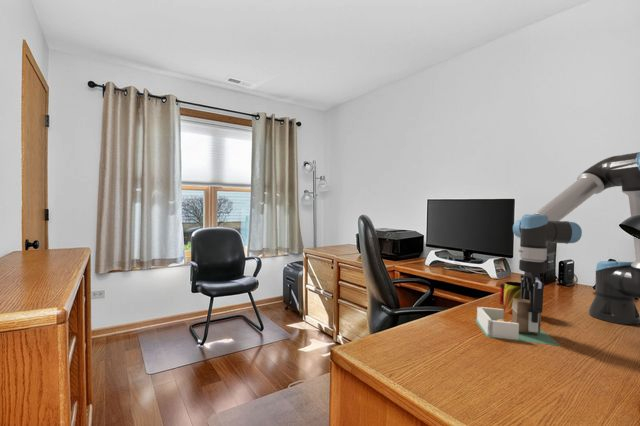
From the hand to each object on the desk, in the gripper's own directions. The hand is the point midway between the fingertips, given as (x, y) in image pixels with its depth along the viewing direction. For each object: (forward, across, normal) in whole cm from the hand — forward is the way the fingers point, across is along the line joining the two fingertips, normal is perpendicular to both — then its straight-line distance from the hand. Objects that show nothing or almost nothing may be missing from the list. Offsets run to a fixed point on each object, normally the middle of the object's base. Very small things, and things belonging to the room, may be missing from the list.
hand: (529, 328), depth 108 cm
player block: (+1, 0, -1) cm, 1 cm away
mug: (+2, -26, +2) cm, 26 cm away
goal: (+1, 0, -10) cm, 10 cm away
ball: (0, 0, -9) cm, 9 cm away
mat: (+2, 0, -5) cm, 5 cm away
